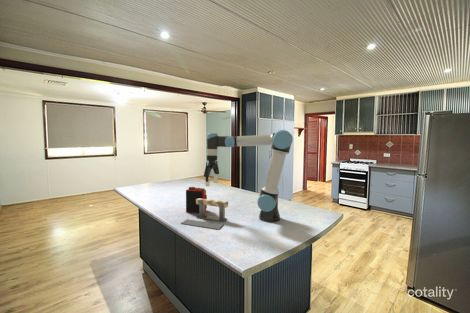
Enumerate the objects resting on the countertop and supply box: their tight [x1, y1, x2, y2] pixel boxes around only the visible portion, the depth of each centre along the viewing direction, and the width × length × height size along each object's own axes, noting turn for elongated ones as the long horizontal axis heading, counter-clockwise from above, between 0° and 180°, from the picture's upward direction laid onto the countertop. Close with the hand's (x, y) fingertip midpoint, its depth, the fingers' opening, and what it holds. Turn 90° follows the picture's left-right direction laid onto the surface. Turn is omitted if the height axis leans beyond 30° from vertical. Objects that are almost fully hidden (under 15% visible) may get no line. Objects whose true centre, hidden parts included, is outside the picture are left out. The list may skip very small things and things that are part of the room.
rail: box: [196, 198, 229, 209], centre depth 164 cm, size 24×4×4 cm, turn 70°
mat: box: [180, 219, 224, 231], centre depth 153 cm, size 28×8×1 cm, turn 70°
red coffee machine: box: [185, 186, 208, 214], centre depth 181 cm, size 16×10×20 cm, turn 74°
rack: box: [196, 201, 228, 223], centre depth 165 cm, size 21×6×13 cm, turn 70°
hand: (211, 184), depth 164 cm, fingers open, 13 cm apart
